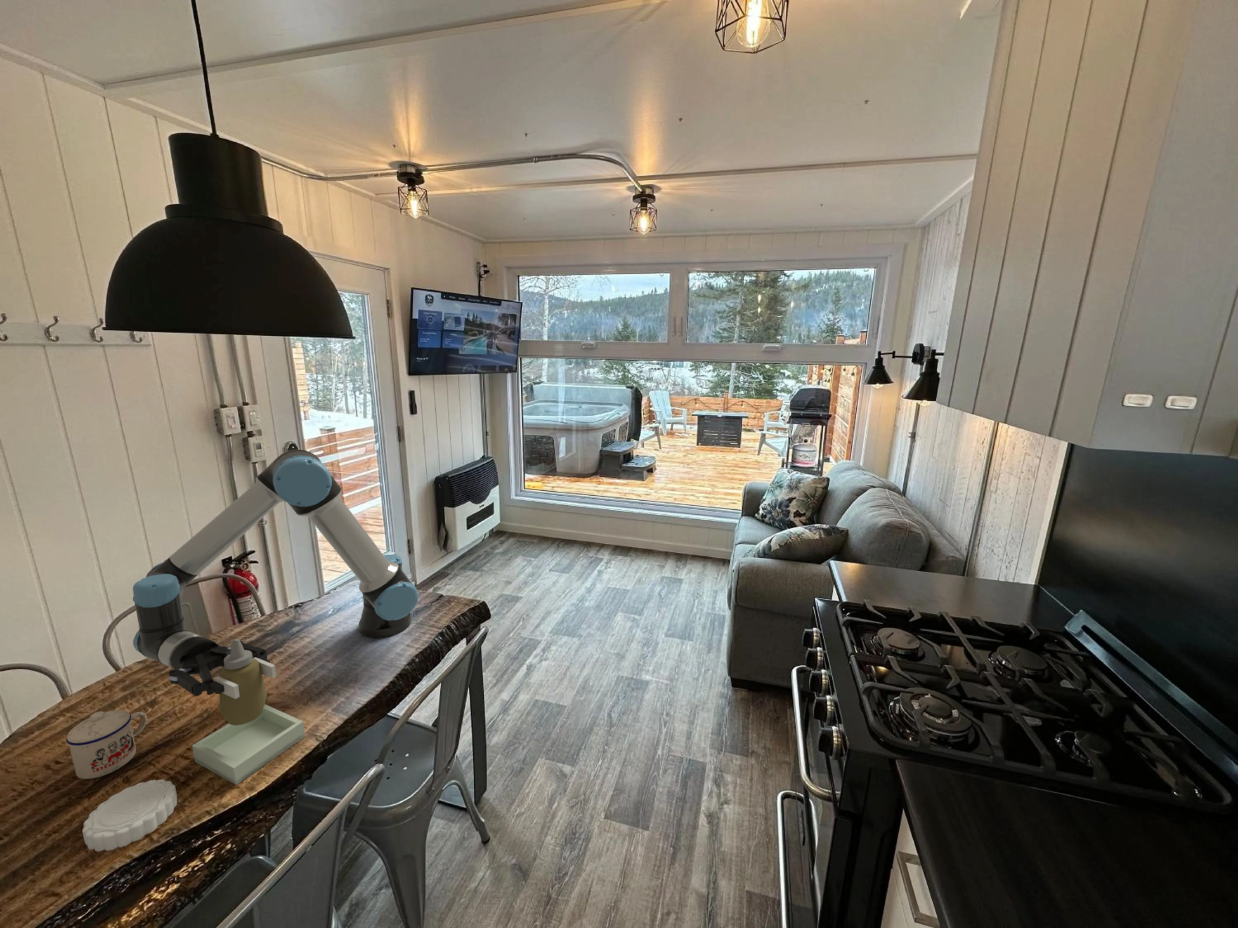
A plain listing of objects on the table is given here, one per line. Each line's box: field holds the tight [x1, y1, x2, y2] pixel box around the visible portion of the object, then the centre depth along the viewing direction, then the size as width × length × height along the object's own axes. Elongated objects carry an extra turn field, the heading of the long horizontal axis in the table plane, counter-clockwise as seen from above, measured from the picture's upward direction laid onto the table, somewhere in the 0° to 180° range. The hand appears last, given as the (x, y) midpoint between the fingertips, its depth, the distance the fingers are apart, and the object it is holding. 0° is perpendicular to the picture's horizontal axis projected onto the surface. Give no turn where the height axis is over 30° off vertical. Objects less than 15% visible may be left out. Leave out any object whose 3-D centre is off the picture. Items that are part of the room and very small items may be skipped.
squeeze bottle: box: [219, 638, 268, 725], centre depth 101 cm, size 8×8×18 cm
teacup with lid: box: [66, 709, 148, 780], centre depth 100 cm, size 12×9×12 cm
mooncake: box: [82, 778, 178, 852], centre depth 88 cm, size 12×12×4 cm
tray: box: [191, 703, 306, 786], centre depth 104 cm, size 14×14×4 cm
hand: (255, 681), depth 99 cm, fingers closed on squeeze bottle, 6 cm apart
